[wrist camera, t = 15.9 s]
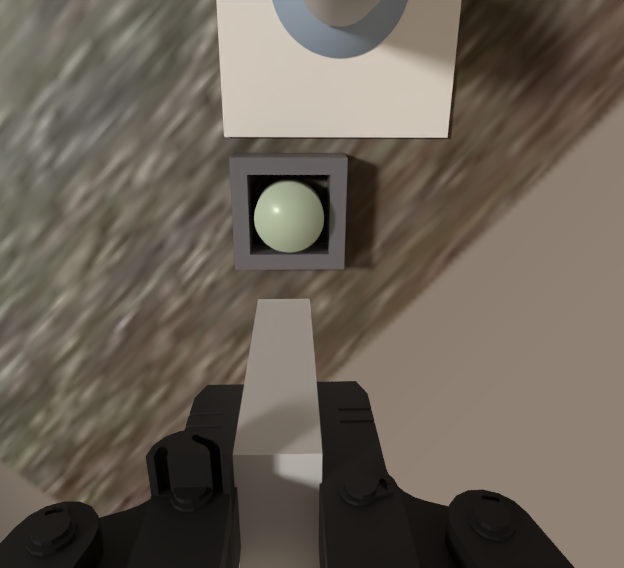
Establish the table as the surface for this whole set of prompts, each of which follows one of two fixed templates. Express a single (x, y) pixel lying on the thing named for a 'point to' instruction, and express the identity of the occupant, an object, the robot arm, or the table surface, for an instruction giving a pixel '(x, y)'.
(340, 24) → the beverage can
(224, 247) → the table surface
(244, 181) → the button housing
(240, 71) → the paper sheet
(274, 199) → the button
